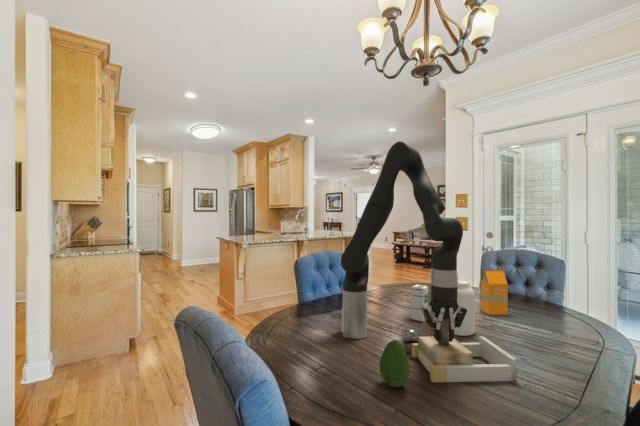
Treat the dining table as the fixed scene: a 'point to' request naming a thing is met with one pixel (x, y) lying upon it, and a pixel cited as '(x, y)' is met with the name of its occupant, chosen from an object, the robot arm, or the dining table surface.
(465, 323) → the white plastic bottle
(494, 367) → the frame
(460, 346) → the box with grey peg
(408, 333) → the drum
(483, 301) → the orange juice
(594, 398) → the dining table surface
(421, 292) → the syrup box
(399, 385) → the avocado
